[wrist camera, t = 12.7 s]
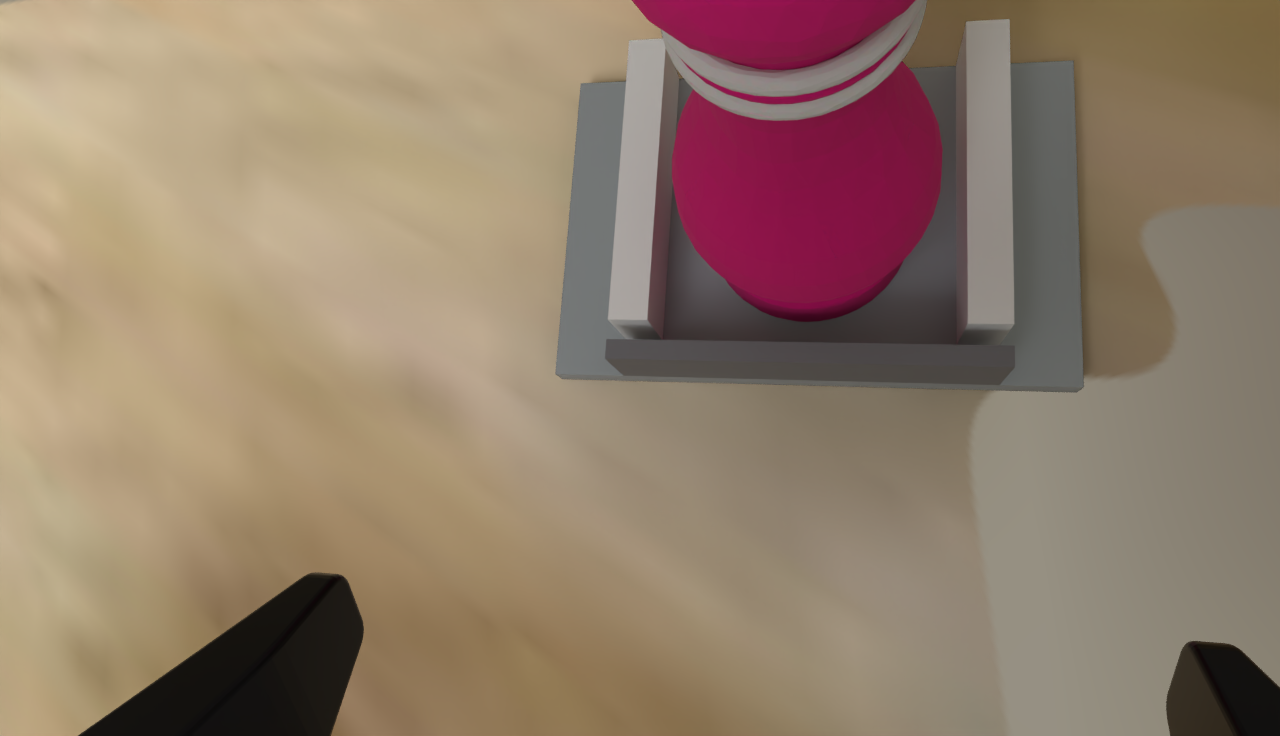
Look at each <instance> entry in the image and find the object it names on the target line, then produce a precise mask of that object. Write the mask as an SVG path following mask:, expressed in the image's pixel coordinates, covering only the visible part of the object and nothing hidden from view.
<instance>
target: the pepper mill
mask: <svg viewBox="0 0 1280 736" xmlns="http://www.w3.org/2000/svg"><path fill="white" fill-rule="evenodd" d="M632 1H633V2H634V4H635V5H636V6H637V7H638V8H639V10H640V11H641V12H642V13H643V14H644V16H645V17H646V18H647V19H648V20H649V21H650V22H651V23H653V24H654V25H656V26H657V27H659V28H660V29H661V32H662V37H663V41H664V44H665V47H666V50H667V52H668V54H669V56H670V58H671V60H672V62H673V64H674V66H675V68H676V69H677V70H678V72H679V73H680V74H681V76H682V77H683V78H684V79H685V81H686V82H687V83H688V84H689V85H690V86H691V87H692V88H693V90H692V92H691V94H690V96H689V97H688V100H687V102H686V104H685V106H684V108H683V110H682V113H681V116H680V119H679V123H678V127H677V133H676V138H675V144H674V149H673V155H672V181H673V187H674V193H675V198H676V203H677V208H678V212H679V215H680V218H681V221H682V224H683V228H684V230H685V232H686V234H687V235H688V237H689V239H690V241H691V243H692V244H693V246H694V248H695V250H696V251H697V252H698V253H699V255H700V256H701V257H702V258H703V259H704V260H705V261H706V262H707V264H708V265H709V266H710V267H711V268H712V269H713V270H715V271H716V272H717V273H718V274H719V275H720V276H721V277H723V278H725V280H726V281H727V283H728V285H729V286H730V287H731V288H732V289H733V290H734V291H735V293H736V294H738V295H739V296H740V297H741V298H742V299H743V300H744V301H746V302H747V303H749V304H751V305H752V306H754V307H755V308H757V309H758V310H760V311H762V312H764V313H766V314H769V315H771V316H774V317H777V318H782V319H787V320H792V321H797V322H814V321H823V320H829V319H834V318H837V317H840V316H843V315H846V314H849V313H851V312H853V311H855V310H858V309H859V308H861V307H862V306H864V305H866V304H867V303H869V302H870V301H872V300H873V299H874V298H875V297H876V296H877V295H878V294H879V293H880V292H882V291H883V290H884V289H885V288H886V287H887V285H888V284H889V283H890V282H891V280H892V279H893V278H894V276H895V275H896V274H897V272H898V271H899V269H900V267H901V265H902V263H903V261H904V259H905V258H906V257H907V256H908V255H909V254H910V253H911V252H912V250H913V249H914V248H915V246H916V245H917V244H918V242H919V241H920V240H921V238H922V237H923V235H924V233H925V231H926V229H927V227H928V225H929V223H930V221H931V219H932V217H933V215H934V212H935V208H936V205H937V201H938V198H939V194H940V189H941V175H942V152H943V148H942V142H941V136H940V130H939V124H938V122H937V119H936V117H935V114H934V112H933V110H932V107H931V105H930V103H929V100H928V99H927V97H926V95H925V93H924V91H923V89H922V88H921V86H920V84H919V82H918V80H917V79H916V77H915V75H914V73H913V72H912V71H911V70H910V69H909V68H908V67H907V66H906V65H905V64H904V63H903V62H902V60H903V59H904V57H905V56H906V55H907V53H908V51H909V50H910V48H911V46H912V45H913V43H914V41H915V40H916V37H917V34H918V32H919V29H920V27H921V24H922V20H923V17H924V13H925V9H926V4H927V0H632Z"/></svg>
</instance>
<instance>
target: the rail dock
mask: <svg viewBox="0 0 1280 736" xmlns="http://www.w3.org/2000/svg"><path fill="white" fill-rule="evenodd" d="M909 69H910V70H911V71H912V72H913V73H914V75H915V77H916V79H917V80H918V82H919V84H920V86H921V88H922V89H923V91H924V93H925V95H926V97H927V99H928V100H929V103H930V105H931V107H932V110H933V112H934V114H935V117H936V119H937V122H938V124H939V130H940V136H941V142H942V148H943V152H942V175H941V189H940V194H939V198H938V201H937V205H936V208H935V212H934V215H933V217H932V219H931V221H930V223H929V225H928V227H927V229H926V231H925V233H924V235H923V237H922V238H921V240H920V241H919V242H918V244H917V245H916V246H915V248H914V249H913V250H912V252H911V253H910V254H909V255H908V256H907V257H906V258H905V259H904V261H903V263H902V265H901V267H900V269H899V271H898V272H897V274H896V275H895V276H894V278H893V279H892V280H891V282H890V283H889V284H888V285H887V287H886V288H885V289H884V290H883V291H882V292H880V293H879V294H878V295H877V296H876V297H875V298H874V299H873V300H872V301H870V302H869V303H867V304H866V305H864V306H862V307H861V308H859V309H858V310H855V311H853V312H851V313H849V314H846V315H843V316H840V317H837V318H834V319H829V320H823V321H814V322H797V321H792V320H787V319H782V318H777V317H774V316H771V315H769V314H766V313H764V312H762V311H760V310H758V309H757V308H755V307H754V306H752V305H751V304H749V303H747V302H746V301H744V300H743V299H742V298H741V297H740V296H739V295H738V294H736V293H735V291H734V290H733V289H732V288H731V287H730V286H729V285H728V283H727V281H726V280H725V278H723V277H721V276H720V275H719V274H718V273H717V272H716V271H715V270H713V269H712V268H711V267H710V266H709V265H708V264H707V262H706V261H705V260H704V259H703V258H702V257H701V256H700V255H699V253H698V252H697V251H696V250H695V248H694V246H693V244H692V243H691V241H690V239H689V237H688V235H687V234H686V232H685V230H684V228H683V224H682V221H681V218H680V215H679V212H678V208H677V203H676V198H675V193H674V187H673V181H672V155H673V149H674V144H675V138H676V133H677V127H678V123H679V119H680V116H681V113H682V110H683V108H684V106H685V104H686V102H687V100H688V97H689V96H690V94H691V92H692V90H693V88H692V87H691V86H690V85H689V84H688V83H687V82H686V81H685V79H679V76H678V73H677V70H676V68H675V66H674V64H673V62H672V60H671V58H670V56H669V54H668V52H667V50H666V47H665V44H664V41H663V39H646V40H629V50H628V63H627V76H626V81H625V82H603V83H582V84H581V88H580V99H579V110H578V122H577V133H576V145H575V156H574V168H573V179H572V190H571V202H570V213H569V225H568V236H567V248H566V259H565V271H564V282H563V293H562V305H561V316H560V328H559V339H558V351H557V362H556V373H555V374H556V375H557V376H559V377H560V378H562V379H583V380H622V381H660V382H698V383H737V384H775V385H813V386H852V387H890V388H928V389H967V390H1006V391H1043V392H1078V391H1079V390H1081V389H1082V388H1083V387H1084V381H1083V349H1082V317H1081V285H1080V253H1079V221H1078V189H1077V157H1076V125H1075V93H1074V61H1054V62H1033V63H1011V64H1010V19H1000V20H982V21H966V25H965V29H964V33H963V38H962V42H961V46H960V50H959V55H958V59H957V63H956V66H947V67H925V68H909Z"/></svg>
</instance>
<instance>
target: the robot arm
mask: <svg viewBox="0 0 1280 736" xmlns="http://www.w3.org/2000/svg"><path fill="white" fill-rule="evenodd" d="M363 633H364V627H363V620H362V617H361V615H360V612H359V609H358V607H357V604H356V601H355V599H354V596H353V593H352V591H351V588H350V585H349V583H348V581H347V579H346V578H344V577H343V576H342V575H339V574H330V573H310V574H307V575H305V576H304V577H302V578H301V579H299V580H298V581H296V582H295V583H294V584H292V585H291V586H289V587H288V588H287V589H285V590H284V591H282V592H281V593H279V594H278V595H277V596H275V597H274V598H272V599H271V600H270V601H268V602H267V603H265V604H264V605H262V606H261V607H260V608H258V609H257V610H255V611H254V612H253V613H251V614H250V615H248V616H247V617H245V618H244V619H243V620H241V621H240V622H238V623H237V624H236V625H234V626H233V627H231V628H230V629H228V630H227V631H226V632H224V633H223V634H221V635H220V636H219V637H217V638H216V639H214V640H213V641H211V642H210V643H209V644H207V645H206V646H204V647H203V648H201V649H200V650H199V651H197V652H196V653H194V654H193V655H192V656H190V657H189V658H187V659H186V660H184V661H183V662H182V663H180V664H179V665H177V666H176V667H175V668H173V669H172V670H170V671H169V672H167V673H166V674H165V675H163V676H162V677H160V678H159V679H158V680H156V681H155V682H153V683H152V684H150V685H149V686H148V687H146V688H145V689H143V690H142V691H141V692H139V693H138V694H136V695H135V696H133V697H132V698H131V699H129V700H128V701H126V702H125V703H124V704H122V705H121V706H119V707H118V708H116V709H115V710H114V711H112V712H111V713H109V714H108V715H107V716H105V717H104V718H102V719H101V720H99V721H98V722H97V723H95V724H94V725H92V726H91V727H90V728H88V729H87V730H85V731H84V732H82V733H81V734H80V735H78V736H331V733H332V730H333V727H334V724H335V721H336V718H337V715H338V712H339V709H340V706H341V703H342V700H343V697H344V694H345V691H346V688H347V685H348V682H349V679H350V676H351V673H352V671H353V668H354V665H355V662H356V659H357V656H358V653H359V650H360V647H361V643H362V640H363ZM1166 703H1167V704H1166V710H1167V720H1168V725H1169V731H1170V736H1280V687H1279V686H1278V685H1277V684H1276V683H1275V682H1274V681H1272V680H1271V679H1270V678H1269V677H1268V676H1267V675H1266V674H1265V673H1264V672H1263V671H1262V670H1261V669H1260V668H1259V667H1258V666H1257V665H1256V664H1255V663H1254V662H1253V661H1252V660H1251V659H1250V658H1249V657H1248V656H1246V655H1245V654H1244V653H1243V652H1242V651H1241V650H1240V649H1238V648H1237V647H1235V646H1233V645H1230V644H1225V643H1213V642H1201V641H1191V642H1188V643H1187V644H1185V646H1184V647H1183V649H1182V651H1181V654H1180V657H1179V660H1178V663H1177V666H1176V669H1175V672H1174V675H1173V678H1172V681H1171V685H1170V688H1169V691H1168V694H1167V701H1166Z"/></svg>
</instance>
